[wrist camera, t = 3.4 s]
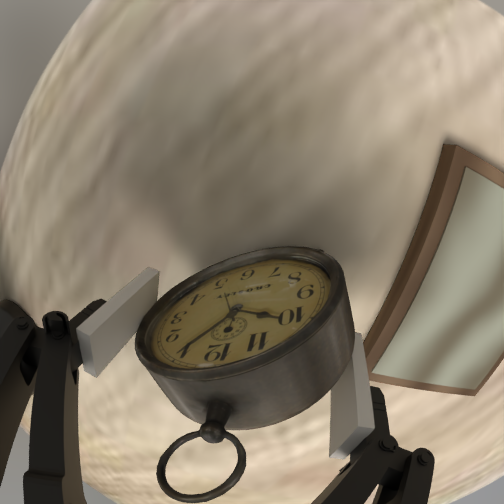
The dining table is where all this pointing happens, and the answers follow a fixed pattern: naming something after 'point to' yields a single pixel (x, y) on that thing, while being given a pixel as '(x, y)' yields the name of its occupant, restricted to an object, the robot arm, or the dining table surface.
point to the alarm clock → (247, 345)
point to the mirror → (447, 287)
